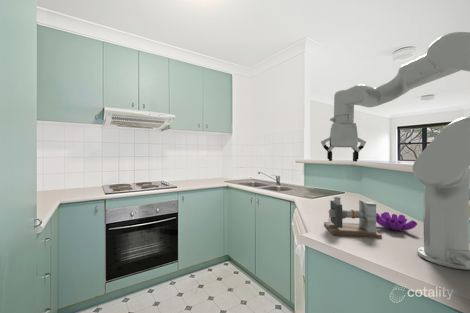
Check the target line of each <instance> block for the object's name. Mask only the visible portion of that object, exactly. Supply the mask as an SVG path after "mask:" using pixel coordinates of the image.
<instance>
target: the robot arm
mask: <svg viewBox="0 0 470 313" xmlns="http://www.w3.org/2000/svg"><path fill="white" fill-rule="evenodd" d="M460 71H465V72H470V32H469V31H467V32H466V31H456V32H455V31H454V32H450V33H449V32H448V33H447V34H444V35H441V36H440V37H438V38H436V39H435V40H434V41H433V42H431V44H429V46H428V48H427V51H426V54H424V55H422V56H419V57H418V58H416V59H414V60H411V61H409V62H406V63H405V64H402V65H401V66H400V67H399V68H398V71H397V73H396V75H395V76H394V78H393V79H390V80H389V81H388V82H386V83H384V84H383V83H382V84H381V85H379V86H376V87H373V86H369V85H367V84H357V85H354V86H352V87H349V88H347V89H342V90H341V89H340V90H338V91H335V93H334V96H333V100H334V101H333V117H330V118H329V121H330V122H332V124H331V127H330V131H329V132H330V134H329V137H328V138H325V139H323V140H322V141H320V143H321V146H322V147H323V149H324V150H325V151H326V152H327V153H326V154H327V156H326V158H327V160H328V161H329V162H332V161H333V151H332V150H333V149H335V148H351V149H352V150H353V152H352V161H353V162H358V160H359V152H360V151H361V150H362V149H364V147H365V145H366V143H367V141H366V140H364V139H362V138H360V137H359V136H358V134H359V133H358V127H357V123H356V122H355V119H354V117H355V106H360V107H365V108H375V107H378V106H381V105H383V104H386V103H390V102H392V101H394V100H396V99H398V98H400V97H402V96H403V95H405V94H407V93H408V92H409V91H410V90H413V89H415V88H417V87H421V86H423V85H426V84H428V83H432V82H433V81H436V80H440V79H442V78H445V77H448V76H450V75H453V74H456V73H458V72H460ZM328 142H329V146H328V145H327V144H326V143H328ZM359 143H360V145H359ZM412 174H413V176H414V177H415V179H417V181H418V182H420V183H421V184H423V185H424V187H423V207H422V208H423V209H422V210H423V213H422V214H423V246H420V247H418V248H417V251H416V252H417V254H418V255H419V257H421V258H422V259H425V260H426V261H429V262H430V263H433V264H436V265H439V266H443V267H446V268H451V269H456V270H464V271H465V270H467V271H470V217H469V216H470V212H469V211H470V115H469V116H464V117H460V118H457V119H455V120H453V121H452V122H450V123H448V124H447V125H446V126H445V127H443V128H442V129H441V130H440V132H439V133H438V134H437V135H436V136H435V137H434V138H433V139H432V140H431V142H429V143H428V145H427V146H426V147H425V148H424V149H423V151H422V152H420V154H419V155H418V156H417V157H416V159H415V161H414V162H413V164H412Z"/></svg>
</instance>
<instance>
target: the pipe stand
mask: <svg viewBox="0 0 470 313" xmlns="http://www.w3.org/2000/svg"><path fill="white" fill-rule="evenodd" d="M358 202H359V203H358V205H359V206H358V208H359V209H358V210H355V209H351V210H349V209H343V210H342V217H344V218H347V219H348V218H350V219H359V221H358V223H356V222H355V223H353V222H342V228H337V227H336V226H335V225H334V224H333V223H332V222H331V221H324V222H323V224H324V226H325V228H326V229H327V230H328V231H329V233H331V235H332V236H333V237H349V238H364V237H367V239H383V236H382V235H383V234H381V233H379V232H378V231H377V222H376V213H377V203H375V202H372V201H370V200H367V199H359V200H358ZM328 216H329V217H330V218H331V217H335V210H331V209H329V210H328ZM344 218H343V219H344Z"/></svg>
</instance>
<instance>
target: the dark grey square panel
mask: <svg viewBox="0 0 470 313" xmlns="http://www.w3.org/2000/svg"><path fill="white" fill-rule="evenodd" d="M340 203H341V202H340ZM340 203H338V202H337V201H334V200H330V210H335V217H330V222H332V223H333V224H334V225H335V226H336V227H337V228H342V223H343V218H342V209H343V205H342V203H341V204H340Z"/></svg>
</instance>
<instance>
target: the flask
mask: <svg viewBox="0 0 470 313" xmlns="http://www.w3.org/2000/svg"><path fill="white" fill-rule="evenodd" d="M341 199H342V198H341V196H333V201H337V202H338V203H340V204H341V205H342V203H341ZM342 210H344V209H343V208H342ZM342 219H344V217H342Z"/></svg>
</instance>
